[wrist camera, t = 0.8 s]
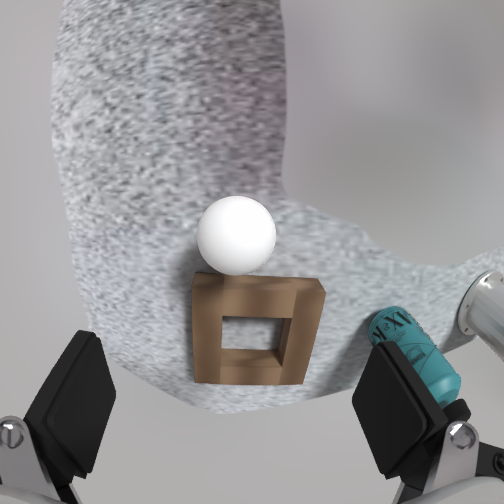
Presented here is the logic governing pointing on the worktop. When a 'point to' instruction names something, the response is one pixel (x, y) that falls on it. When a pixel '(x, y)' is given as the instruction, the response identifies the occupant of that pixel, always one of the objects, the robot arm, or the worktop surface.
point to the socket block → (254, 305)
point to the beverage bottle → (421, 359)
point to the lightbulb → (236, 235)
